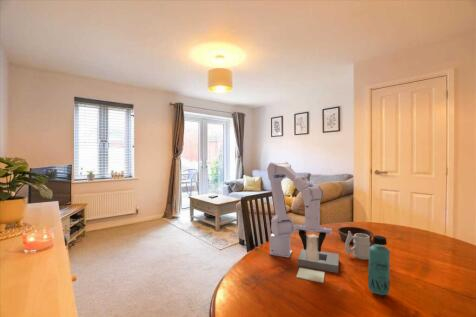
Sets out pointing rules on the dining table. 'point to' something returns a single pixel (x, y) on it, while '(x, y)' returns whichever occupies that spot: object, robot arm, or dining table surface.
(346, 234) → the dish
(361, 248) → the mug
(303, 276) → the mat
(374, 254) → the beverage bottle
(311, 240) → the cream strapped capsule
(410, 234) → the dining table surface
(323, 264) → the holder
